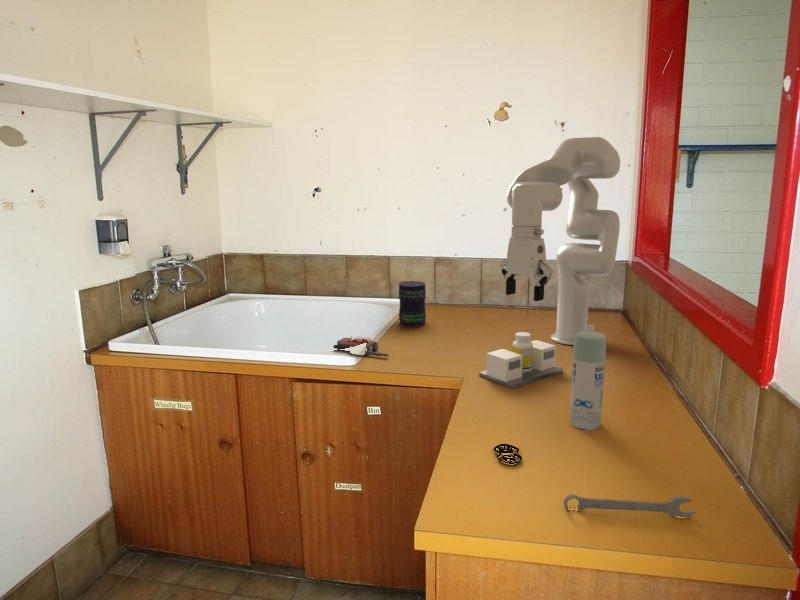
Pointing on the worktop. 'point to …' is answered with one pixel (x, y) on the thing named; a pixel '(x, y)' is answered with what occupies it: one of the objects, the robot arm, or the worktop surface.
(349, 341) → the red white elongated piece
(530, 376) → the rail plate
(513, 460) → the corroded twin loop
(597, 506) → the combination wrench
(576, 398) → the spray paint can
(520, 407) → the worktop surface
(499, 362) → the mounted modules
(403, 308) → the storage jar
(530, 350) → the supplement bottle
